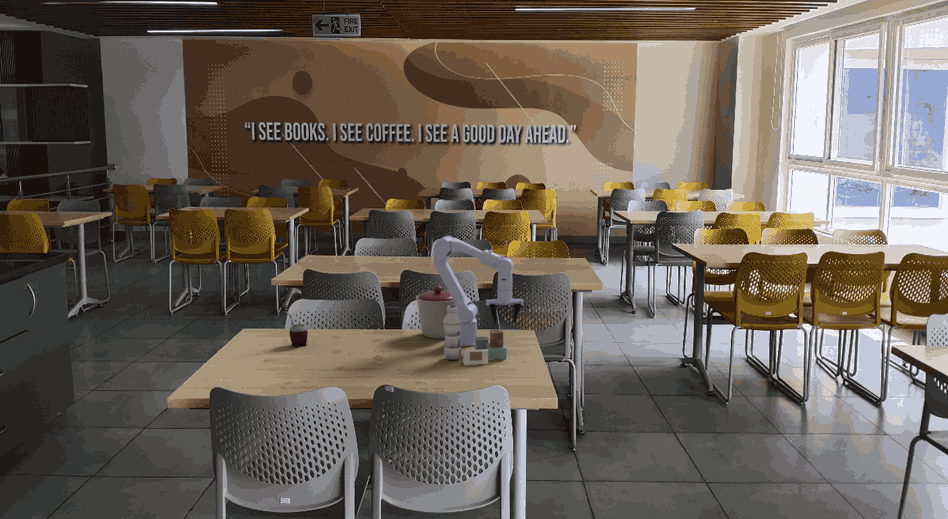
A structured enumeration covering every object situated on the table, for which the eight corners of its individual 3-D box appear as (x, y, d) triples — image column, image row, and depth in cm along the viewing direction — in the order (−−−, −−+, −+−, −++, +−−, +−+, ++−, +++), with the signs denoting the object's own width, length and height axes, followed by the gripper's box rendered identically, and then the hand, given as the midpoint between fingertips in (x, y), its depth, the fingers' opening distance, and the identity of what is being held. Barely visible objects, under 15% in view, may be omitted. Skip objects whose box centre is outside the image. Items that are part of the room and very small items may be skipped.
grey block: (476, 354, 271) (476, 340, 270) (475, 351, 275) (475, 336, 274) (488, 353, 271) (488, 339, 270) (486, 350, 276) (486, 336, 275)
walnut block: (491, 347, 265) (491, 332, 264) (490, 344, 269) (490, 329, 268) (503, 347, 265) (503, 332, 264) (501, 343, 269) (501, 329, 268)
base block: (487, 360, 264) (487, 348, 263) (485, 354, 271) (485, 343, 270) (506, 359, 265) (506, 348, 264) (504, 354, 272) (504, 342, 271)
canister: (409, 339, 290) (409, 288, 287) (425, 328, 307) (425, 280, 304) (451, 343, 285) (451, 291, 282) (465, 331, 302) (465, 283, 299)
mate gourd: (310, 343, 284) (309, 306, 282) (303, 349, 277) (302, 311, 274) (292, 342, 285) (291, 306, 283) (285, 348, 277) (283, 310, 275)
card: (464, 365, 257) (464, 351, 257) (463, 362, 260) (463, 349, 260) (488, 364, 259) (488, 351, 258) (487, 361, 261) (487, 348, 261)
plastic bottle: (459, 362, 261) (459, 309, 257) (441, 361, 262) (441, 308, 259) (463, 357, 267) (463, 305, 263) (445, 356, 268) (445, 304, 265)
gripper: (488, 291, 273) (487, 325, 275) (525, 290, 275) (524, 324, 277) (485, 287, 280) (485, 321, 282) (521, 287, 282) (521, 320, 284)
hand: (504, 322), depth 280 cm, fingers open, 7 cm apart
